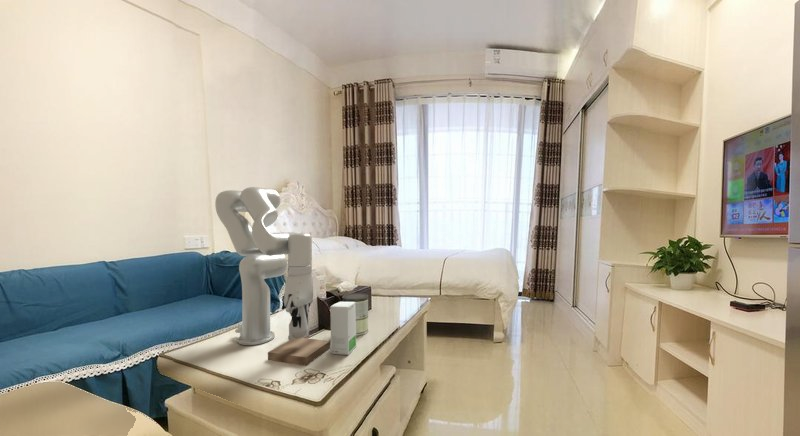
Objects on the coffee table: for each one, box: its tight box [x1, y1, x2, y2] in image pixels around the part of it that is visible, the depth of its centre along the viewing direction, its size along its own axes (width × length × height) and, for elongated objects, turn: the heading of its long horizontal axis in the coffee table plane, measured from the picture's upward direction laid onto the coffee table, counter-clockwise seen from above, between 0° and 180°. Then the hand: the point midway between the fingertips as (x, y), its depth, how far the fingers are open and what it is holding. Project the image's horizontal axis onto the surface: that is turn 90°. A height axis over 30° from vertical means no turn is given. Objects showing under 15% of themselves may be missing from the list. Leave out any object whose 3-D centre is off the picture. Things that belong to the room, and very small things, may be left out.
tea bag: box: [288, 318, 310, 341], centre depth 117 cm, size 4×7×10 cm, turn 160°
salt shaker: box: [290, 305, 308, 338], centre depth 103 cm, size 6×6×13 cm
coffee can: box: [341, 292, 369, 337], centre depth 125 cm, size 10×10×14 cm
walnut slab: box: [267, 337, 331, 367], centre depth 103 cm, size 14×14×2 cm
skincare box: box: [329, 301, 357, 356], centre depth 106 cm, size 8×7×16 cm
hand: (299, 326), depth 103 cm, fingers closed on salt shaker, 3 cm apart
